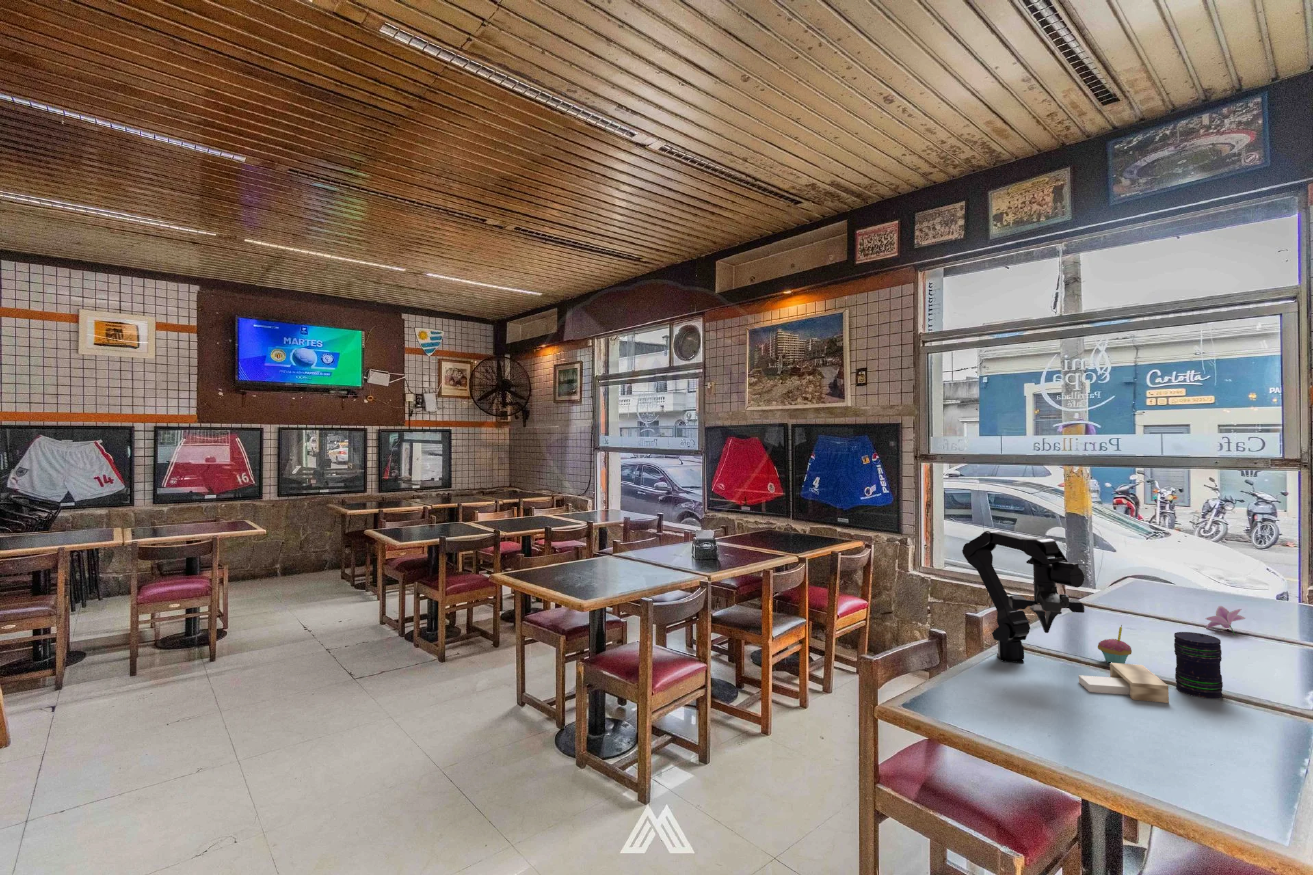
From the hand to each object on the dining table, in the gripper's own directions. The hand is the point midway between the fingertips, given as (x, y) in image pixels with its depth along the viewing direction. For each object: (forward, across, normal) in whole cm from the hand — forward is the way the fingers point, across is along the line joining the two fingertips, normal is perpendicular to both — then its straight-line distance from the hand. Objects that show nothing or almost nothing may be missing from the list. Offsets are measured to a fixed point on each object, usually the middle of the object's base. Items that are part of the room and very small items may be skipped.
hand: (1046, 632), depth 186 cm
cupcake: (+12, +22, +15) cm, 29 cm away
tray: (+12, +15, -9) cm, 21 cm away
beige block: (+12, +20, -8) cm, 25 cm away
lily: (+12, +70, +61) cm, 94 cm away
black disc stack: (+12, +35, -5) cm, 37 cm away
